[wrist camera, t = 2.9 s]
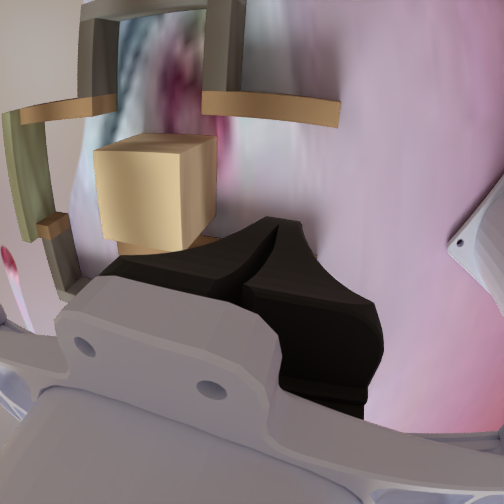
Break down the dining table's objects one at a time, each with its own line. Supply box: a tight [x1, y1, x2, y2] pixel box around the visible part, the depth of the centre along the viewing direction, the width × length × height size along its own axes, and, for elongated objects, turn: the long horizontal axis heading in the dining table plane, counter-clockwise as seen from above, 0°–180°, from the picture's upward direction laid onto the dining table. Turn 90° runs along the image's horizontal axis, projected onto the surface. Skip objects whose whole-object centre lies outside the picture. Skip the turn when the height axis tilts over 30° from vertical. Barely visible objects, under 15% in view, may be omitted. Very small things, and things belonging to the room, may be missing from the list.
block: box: [93, 133, 218, 252], centre depth 17 cm, size 5×5×5 cm
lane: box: [2, 0, 341, 303], centre depth 18 cm, size 22×23×4 cm
